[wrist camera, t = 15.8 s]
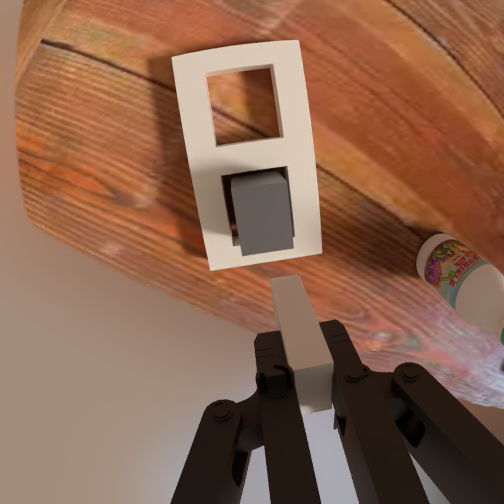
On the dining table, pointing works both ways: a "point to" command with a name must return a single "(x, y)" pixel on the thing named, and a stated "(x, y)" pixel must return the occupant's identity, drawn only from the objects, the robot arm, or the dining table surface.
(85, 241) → the dining table surface
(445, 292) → the milk bottle
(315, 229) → the socket plate
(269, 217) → the plug
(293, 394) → the robot arm
